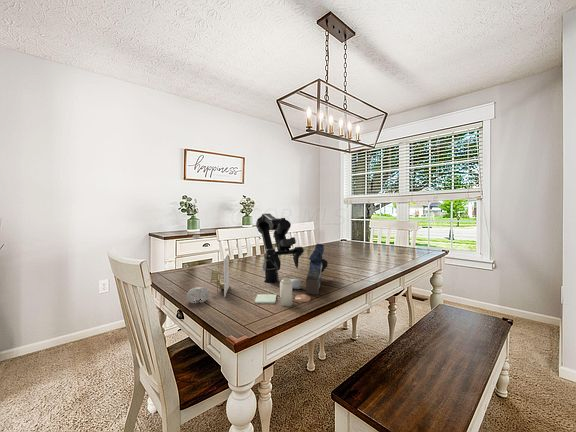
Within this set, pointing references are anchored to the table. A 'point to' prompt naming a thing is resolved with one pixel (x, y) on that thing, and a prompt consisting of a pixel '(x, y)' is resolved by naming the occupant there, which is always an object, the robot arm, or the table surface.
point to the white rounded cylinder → (296, 283)
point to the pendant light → (197, 289)
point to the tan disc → (302, 298)
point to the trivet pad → (265, 299)
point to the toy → (315, 270)
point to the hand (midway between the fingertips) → (288, 268)
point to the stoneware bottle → (285, 291)
